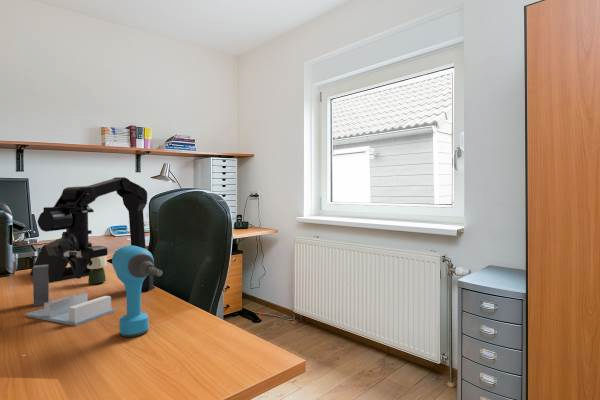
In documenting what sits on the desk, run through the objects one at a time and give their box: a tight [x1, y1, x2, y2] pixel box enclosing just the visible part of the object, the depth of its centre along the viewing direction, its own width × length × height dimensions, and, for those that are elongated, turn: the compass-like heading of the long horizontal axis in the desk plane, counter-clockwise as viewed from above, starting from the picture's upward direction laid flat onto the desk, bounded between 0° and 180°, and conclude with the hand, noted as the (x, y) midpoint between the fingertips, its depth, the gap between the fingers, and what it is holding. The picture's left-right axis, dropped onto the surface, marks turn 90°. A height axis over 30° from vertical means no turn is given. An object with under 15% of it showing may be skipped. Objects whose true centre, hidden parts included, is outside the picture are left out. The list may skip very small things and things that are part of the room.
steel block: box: [32, 264, 50, 308], centre depth 119 cm, size 4×4×13 cm
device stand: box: [29, 240, 105, 284], centre depth 162 cm, size 22×22×15 cm
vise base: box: [25, 295, 116, 327], centre depth 110 cm, size 22×13×5 cm, turn 69°
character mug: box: [87, 255, 108, 285], centre depth 146 cm, size 11×7×13 cm, turn 44°
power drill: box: [111, 245, 163, 338], centre depth 91 cm, size 28×9×23 cm, turn 43°
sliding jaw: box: [43, 291, 89, 317], centre depth 110 cm, size 2×12×4 cm, turn 159°
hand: (78, 278), depth 108 cm, fingers closed
